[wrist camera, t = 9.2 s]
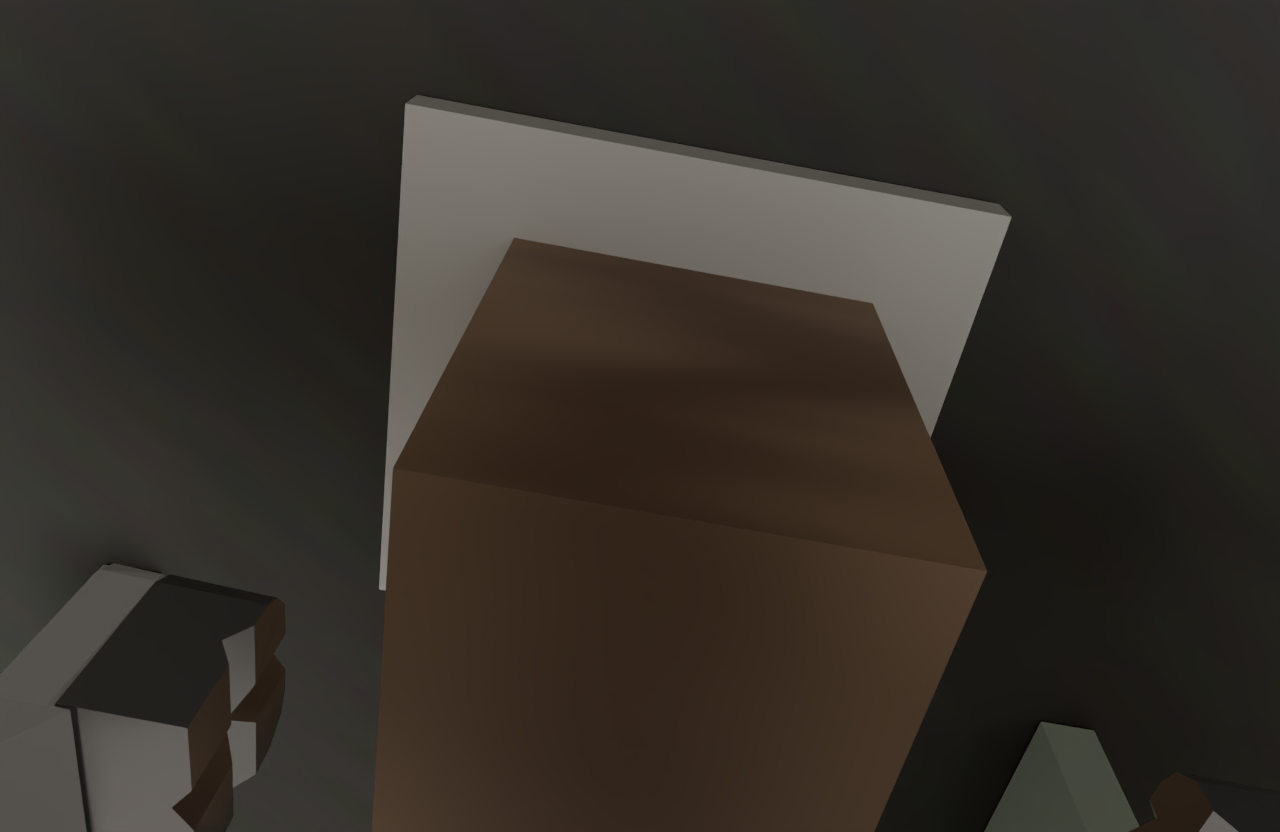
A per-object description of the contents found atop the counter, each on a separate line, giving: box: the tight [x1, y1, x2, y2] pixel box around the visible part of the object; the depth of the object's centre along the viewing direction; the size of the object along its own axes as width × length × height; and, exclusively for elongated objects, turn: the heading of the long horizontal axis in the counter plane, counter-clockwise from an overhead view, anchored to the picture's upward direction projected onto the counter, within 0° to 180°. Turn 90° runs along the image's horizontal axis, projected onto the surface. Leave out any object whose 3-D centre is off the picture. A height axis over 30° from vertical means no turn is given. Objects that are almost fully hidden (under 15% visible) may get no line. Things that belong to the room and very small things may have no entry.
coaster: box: [379, 95, 1012, 591], centre depth 15 cm, size 8×8×1 cm
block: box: [372, 238, 987, 832], centre depth 12 cm, size 5×5×6 cm
